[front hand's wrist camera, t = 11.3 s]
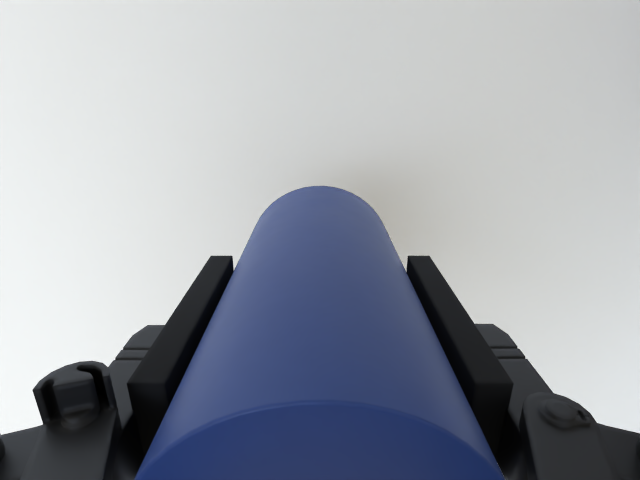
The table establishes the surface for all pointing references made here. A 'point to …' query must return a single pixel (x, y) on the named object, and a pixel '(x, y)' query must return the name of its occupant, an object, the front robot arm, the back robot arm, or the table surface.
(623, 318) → the table surface
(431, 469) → the can
